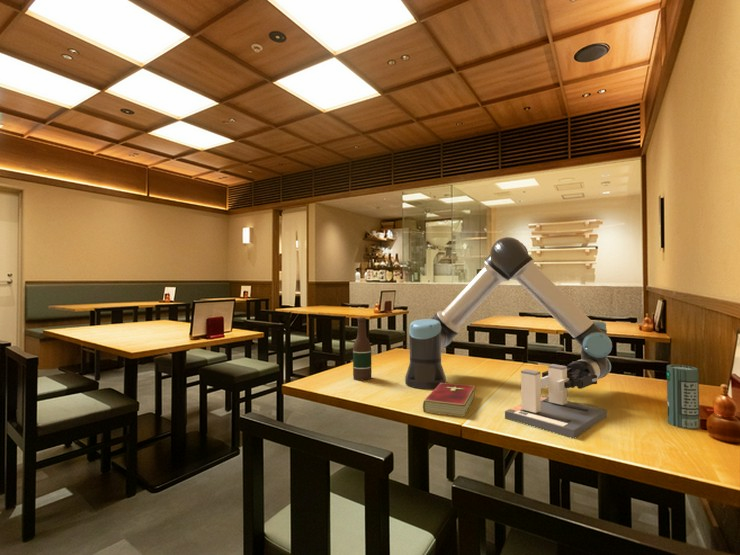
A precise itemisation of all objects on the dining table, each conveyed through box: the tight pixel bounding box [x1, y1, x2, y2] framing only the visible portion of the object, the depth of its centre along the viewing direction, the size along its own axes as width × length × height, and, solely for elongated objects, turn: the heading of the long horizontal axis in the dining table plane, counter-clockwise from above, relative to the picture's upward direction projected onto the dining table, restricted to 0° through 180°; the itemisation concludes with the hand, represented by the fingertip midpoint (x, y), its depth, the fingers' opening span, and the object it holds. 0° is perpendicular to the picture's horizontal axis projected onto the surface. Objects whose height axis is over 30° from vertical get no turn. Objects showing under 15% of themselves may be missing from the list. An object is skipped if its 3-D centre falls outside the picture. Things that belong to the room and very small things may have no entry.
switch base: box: [504, 368, 608, 439], centre depth 105 cm, size 18×22×13 cm
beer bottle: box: [352, 316, 372, 381], centre depth 150 cm, size 8×8×24 cm
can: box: [666, 364, 701, 430], centre depth 99 cm, size 6×6×15 cm
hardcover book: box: [422, 382, 476, 417], centre depth 117 cm, size 12×21×4 cm, turn 156°
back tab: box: [547, 363, 568, 405], centre depth 110 cm, size 4×3×11 cm
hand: (549, 385), depth 107 cm, fingers closed on back tab, 4 cm apart
